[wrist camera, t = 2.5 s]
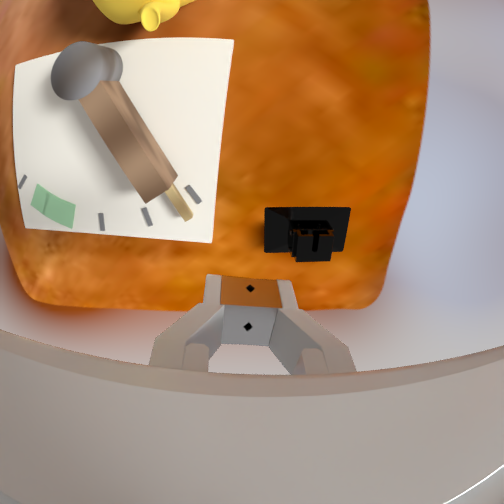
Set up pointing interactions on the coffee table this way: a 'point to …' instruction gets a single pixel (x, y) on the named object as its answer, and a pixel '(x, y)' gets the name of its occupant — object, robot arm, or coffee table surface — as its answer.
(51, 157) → the dial plate
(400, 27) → the coffee table surface
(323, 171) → the coffee table surface
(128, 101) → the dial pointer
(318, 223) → the black flanged block
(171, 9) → the teapot
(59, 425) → the robot arm
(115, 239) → the coffee table surface
